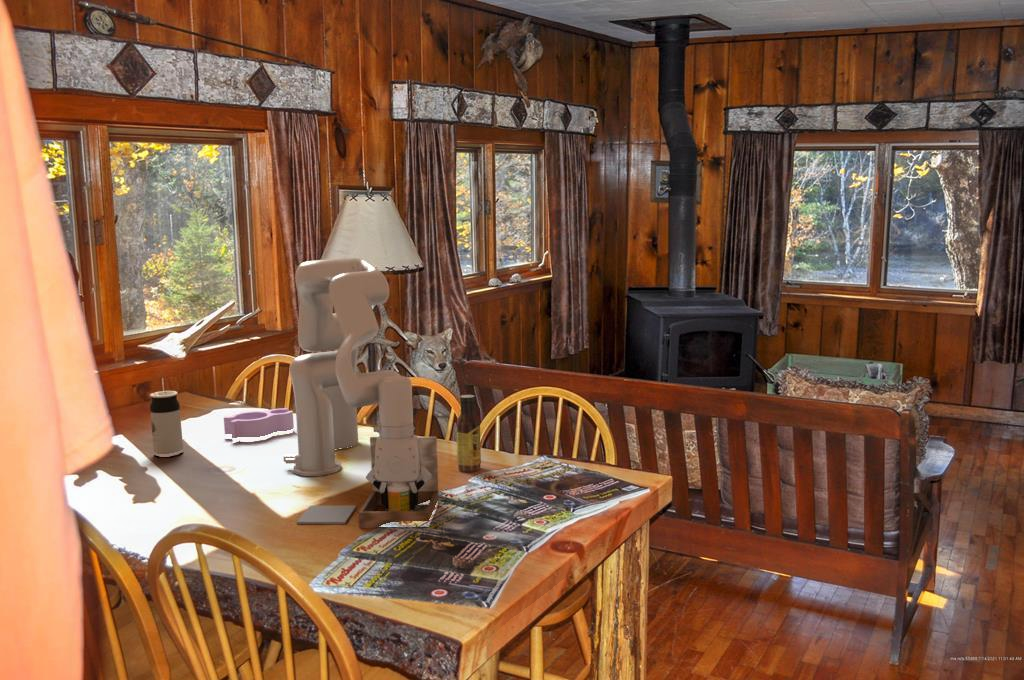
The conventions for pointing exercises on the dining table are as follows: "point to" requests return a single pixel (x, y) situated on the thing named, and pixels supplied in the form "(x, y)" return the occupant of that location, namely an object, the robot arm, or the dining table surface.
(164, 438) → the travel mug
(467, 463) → the sauce bottle
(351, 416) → the cylinder vase
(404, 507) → the supplement bottle
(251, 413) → the lilac molded tray
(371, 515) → the open wooden keepsake box
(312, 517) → the slate mat
